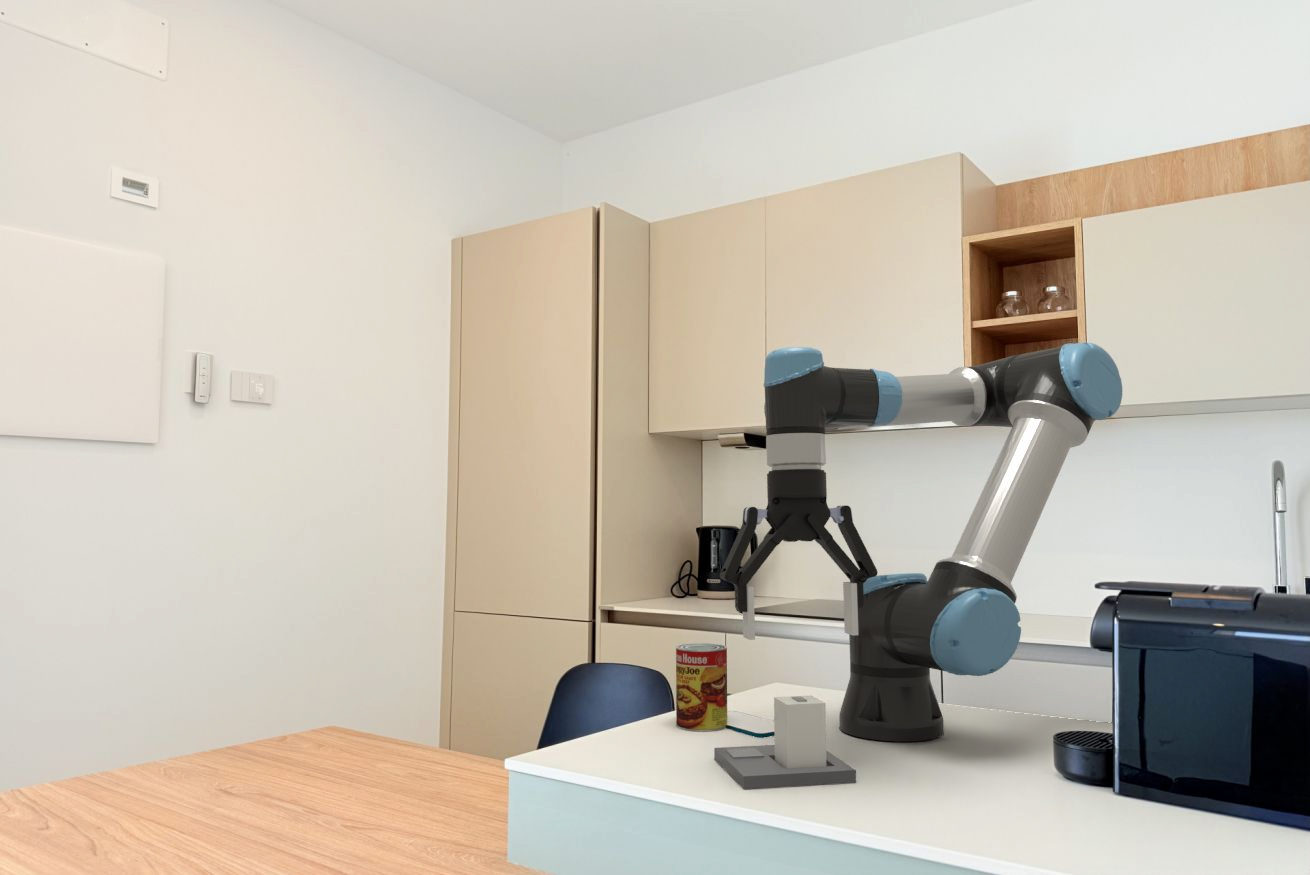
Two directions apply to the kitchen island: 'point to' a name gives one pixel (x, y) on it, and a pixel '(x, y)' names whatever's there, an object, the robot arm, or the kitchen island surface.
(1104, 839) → the kitchen island surface
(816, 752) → the block
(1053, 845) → the kitchen island surface
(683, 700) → the canned food
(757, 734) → the smartphone
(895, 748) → the kitchen island surface
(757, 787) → the grey square base plate
